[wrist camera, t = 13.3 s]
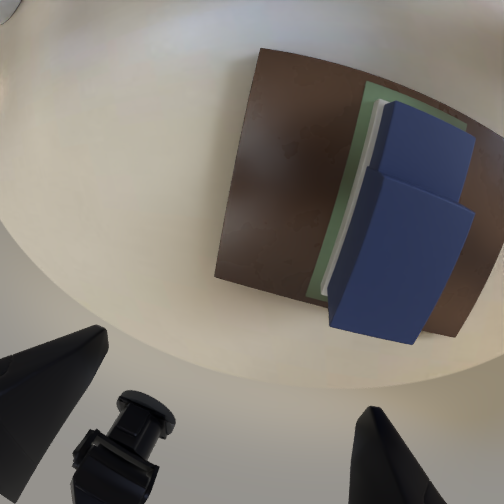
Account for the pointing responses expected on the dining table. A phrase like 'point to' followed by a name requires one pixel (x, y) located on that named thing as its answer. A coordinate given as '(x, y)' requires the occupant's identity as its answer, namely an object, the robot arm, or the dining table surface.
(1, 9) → the mug
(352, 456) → the robot arm
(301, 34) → the dining table surface
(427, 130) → the blue stepped block
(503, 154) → the brown flat slab
